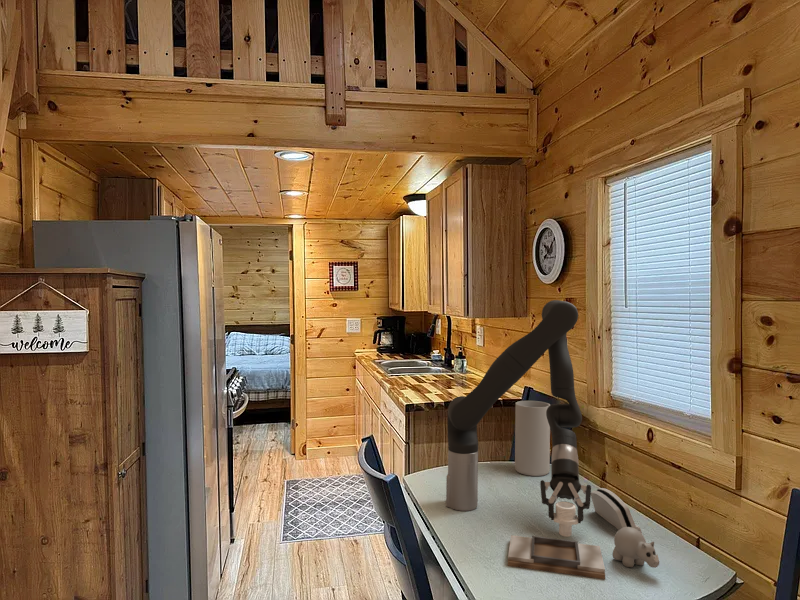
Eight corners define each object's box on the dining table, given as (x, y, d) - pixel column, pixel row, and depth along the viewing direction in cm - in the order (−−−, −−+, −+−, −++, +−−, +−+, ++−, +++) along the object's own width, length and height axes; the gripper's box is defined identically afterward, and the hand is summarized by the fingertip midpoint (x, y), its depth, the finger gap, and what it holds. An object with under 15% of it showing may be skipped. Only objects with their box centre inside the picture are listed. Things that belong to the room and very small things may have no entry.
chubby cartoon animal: (644, 582, 122) (645, 545, 122) (607, 558, 133) (607, 524, 133) (669, 577, 124) (669, 540, 124) (630, 553, 136) (630, 520, 135)
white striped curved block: (643, 534, 147) (632, 500, 146) (627, 541, 146) (616, 507, 145) (610, 510, 163) (600, 480, 162) (596, 516, 162) (586, 485, 162)
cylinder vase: (552, 468, 202) (552, 402, 202) (546, 478, 191) (547, 408, 191) (518, 464, 207) (519, 399, 207) (511, 473, 196) (512, 405, 196)
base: (507, 565, 129) (507, 555, 129) (511, 540, 142) (511, 530, 142) (605, 579, 123) (605, 568, 123) (599, 551, 137) (599, 541, 136)
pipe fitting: (583, 537, 144) (584, 508, 144) (560, 540, 142) (560, 510, 142) (569, 527, 150) (570, 499, 150) (547, 530, 148) (547, 501, 148)
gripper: (539, 455, 155) (538, 511, 144) (591, 459, 152) (595, 517, 140) (539, 468, 160) (538, 523, 149) (590, 472, 157) (593, 529, 145)
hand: (565, 520), depth 145 cm, fingers closed on pipe fitting, 6 cm apart
